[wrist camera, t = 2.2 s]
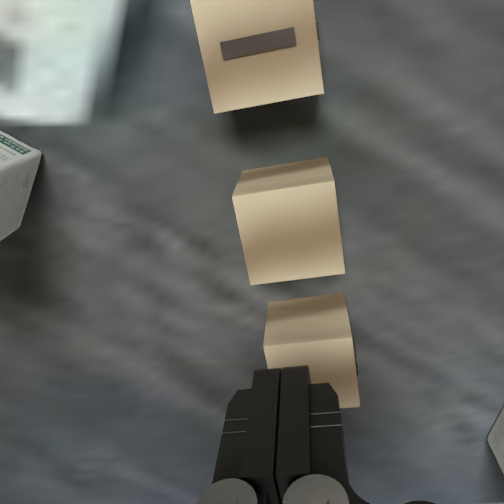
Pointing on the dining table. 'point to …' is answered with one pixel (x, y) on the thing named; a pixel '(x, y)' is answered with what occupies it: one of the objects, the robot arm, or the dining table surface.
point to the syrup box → (15, 181)
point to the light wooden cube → (314, 342)
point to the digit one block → (258, 51)
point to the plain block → (289, 222)
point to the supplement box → (498, 439)
